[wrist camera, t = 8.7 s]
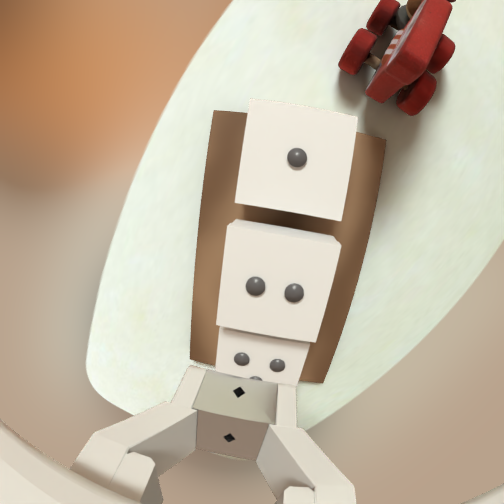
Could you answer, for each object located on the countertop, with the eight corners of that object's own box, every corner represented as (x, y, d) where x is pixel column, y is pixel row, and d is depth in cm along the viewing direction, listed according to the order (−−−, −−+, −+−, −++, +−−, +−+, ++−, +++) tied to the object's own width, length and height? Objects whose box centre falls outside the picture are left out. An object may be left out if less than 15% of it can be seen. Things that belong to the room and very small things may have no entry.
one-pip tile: (348, 124, 18) (358, 116, 15) (334, 214, 20) (341, 221, 17) (255, 107, 18) (249, 97, 15) (241, 198, 20) (234, 203, 17)
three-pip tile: (308, 325, 22) (310, 345, 20) (290, 384, 24) (290, 406, 22) (227, 310, 23) (218, 329, 20) (220, 371, 25) (212, 392, 22)
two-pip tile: (334, 235, 19) (342, 246, 16) (312, 322, 21) (315, 344, 18) (235, 218, 19) (226, 226, 16) (224, 306, 21) (215, 326, 18)
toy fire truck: (445, 42, 15) (504, 0, 5) (396, 134, 19) (469, 114, 9) (383, -1, 15) (419, -64, 5) (324, 84, 19) (349, 22, 9)
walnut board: (381, 141, 19) (395, 137, 16) (322, 375, 25) (324, 397, 22) (217, 113, 20) (206, 104, 17) (193, 352, 26) (183, 371, 23)
